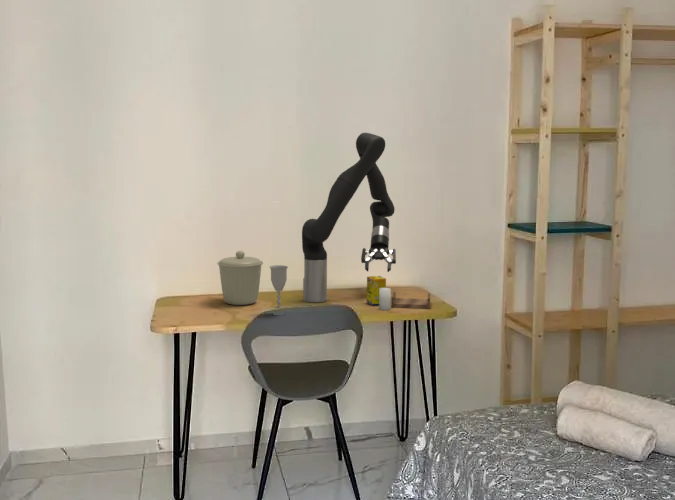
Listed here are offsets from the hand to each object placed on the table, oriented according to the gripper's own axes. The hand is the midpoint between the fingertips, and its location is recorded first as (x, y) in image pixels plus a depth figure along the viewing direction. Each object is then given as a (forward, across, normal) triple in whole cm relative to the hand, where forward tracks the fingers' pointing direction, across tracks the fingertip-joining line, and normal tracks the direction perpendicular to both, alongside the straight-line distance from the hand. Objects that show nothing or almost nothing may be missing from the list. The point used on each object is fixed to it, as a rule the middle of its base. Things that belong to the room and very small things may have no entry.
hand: (377, 270), depth 310 cm
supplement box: (+14, 0, +3) cm, 15 cm away
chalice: (+30, -35, -13) cm, 48 cm away
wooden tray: (+14, +14, +3) cm, 20 cm away
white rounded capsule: (+20, +4, -2) cm, 20 cm away
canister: (+18, -54, -1) cm, 57 cm away
